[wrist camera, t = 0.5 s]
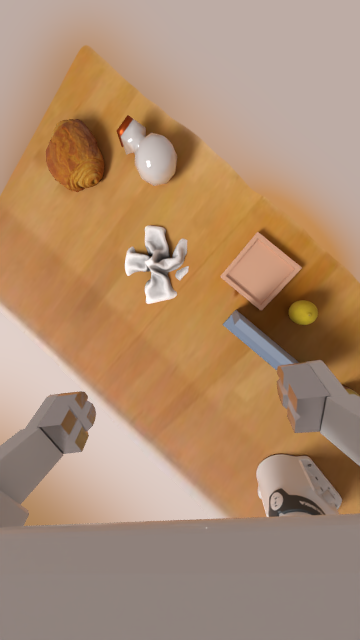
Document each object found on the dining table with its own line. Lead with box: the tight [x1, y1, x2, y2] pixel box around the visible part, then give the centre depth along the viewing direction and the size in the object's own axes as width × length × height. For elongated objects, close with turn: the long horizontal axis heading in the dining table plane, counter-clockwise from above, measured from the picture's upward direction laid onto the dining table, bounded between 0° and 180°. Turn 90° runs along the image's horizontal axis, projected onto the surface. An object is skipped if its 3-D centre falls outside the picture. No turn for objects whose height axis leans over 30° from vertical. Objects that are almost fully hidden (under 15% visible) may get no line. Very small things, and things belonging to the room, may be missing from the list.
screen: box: [223, 310, 299, 370], centre depth 49 cm, size 24×5×14 cm, turn 51°
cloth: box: [125, 225, 189, 304], centre depth 55 cm, size 22×19×6 cm
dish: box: [220, 232, 302, 311], centre depth 52 cm, size 13×13×2 cm
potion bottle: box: [117, 116, 177, 186], centre depth 49 cm, size 9×10×15 cm
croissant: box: [46, 119, 104, 192], centre depth 54 cm, size 14×16×8 cm
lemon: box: [289, 300, 318, 325], centre depth 49 cm, size 6×6×8 cm
